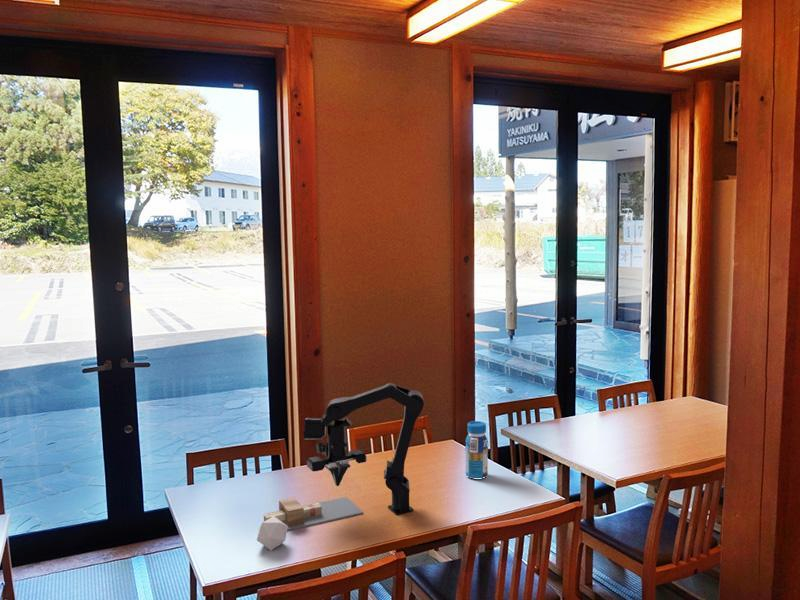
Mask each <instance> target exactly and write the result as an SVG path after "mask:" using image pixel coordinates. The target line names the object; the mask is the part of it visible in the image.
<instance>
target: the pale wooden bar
mask: <svg viewBox="0 0 800 600" xmlns="http://www.w3.org/2000/svg"><path fill="white" fill-rule="evenodd" d="M315 503H316V504H314V503H310V504H311V505H309V504H306V505H307V506H305V505H301V506H302V507H303V508H304V518H309V517H313V516H318V515H322V506H321V505H320V504H319V502H315ZM277 511H278V512H276V511H273V512H274V513H272V512H268V513H269V514H267V513H264V514H263V522H265V521H266V520H268V519H270V518H271V517H273V516H274V517H276V518H277V519H279V520H280V521H281V522H283V523H286V517H285V511H284V510H283V511H279V510H277Z"/></svg>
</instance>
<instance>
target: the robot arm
mask: <svg viewBox="0 0 800 600" xmlns="http://www.w3.org/2000/svg"><path fill="white" fill-rule="evenodd" d="M386 399H387V400H388V399H392V400H393V401H395V402H396V403H398V404H400V405H401V406H404V410H403V412H404V413H403V420H402V424H401V427H400V431H399V436H398V440H397V443H396V447H395V450H394V454H393V457H392V459H391V460H390V461H389V460H386V467H385V469H384V470H383V479H384V480H385V481H384V482H385V485H386V487H387V488H388V489H389V490H390V491H391V504H390V505H388V506H387V509H389V510H390V511H392V513H393V514H395V515H401V514H405V513H410V512H413V511H414V508H413V507H412V506H411V505H410V491H411V489H410V479H408V478H407V477H406V476H405V461H406V458H407V456H408V450H409V447H410V443H411V439H412V435H413V432H414V429H415V424H416V422H417V421H418V419H419V417H420V415H421V413H422V411H423V409H424V406H425V402H424V398H423V395H422V393H421V392H420V390H419V391H418V390H416V389H414V390H411V389H408V388H406V387H403V386H400V385H397V384H395V383H393V382H389V383H386V384H385V385H381V386H378V387H376V388H373V389H371V390H367V391H365V392H363V393H359V394H356V395H353V396H344V397H338V398H333V399H331V400H330V401H329V402H328V405H327V407H326V412H325V413H324V414H322V418H320V417H318V418H315V417H314V418H312V417H306V418H305V419H304V427H303V439H304V440H307V441H308V440H323V438H324V437H326V435H327V440H326V441H325V444H324V442H317V443H316V445H315V449H316V453H317V454H320V453H321V454H322V456H325V458H321V457H320V456H318V455H317V456H312V457H308V458H307V460H306V467H307V468H308V469H309V470H310V471H311V472H319V471H323V470H324V469H326V470H328V471H329V472H330V474H331V476H332V479H333V482H334V484H335V486H336V487H340V484H341V482H342V480H343V478H344V475H346V474H345V473H346V472H347V470H348V468H349V469H350V468H351V464H349V463H350V461H354V460H355V462H356V463H357V464H363V463H367V461H368V460H367V454H366V453H365V452H363V450H361V449H357V448H356V449H352V450H349V452H348V454H346V452H347V451H346V450H347V449H346V448H347V447H348V442H347V441H346V440H347V439H346V427H350V426H351V425H352V421H351V420H349V418H348V416H349V415H350V414H351V413H353V412H355V411H356V410H359V409H361V408H364V407H367V406H370V405H373V404H375V403H378V402H381V401H384V400H386ZM326 432H327V433H326ZM326 457H327V458H326Z"/></svg>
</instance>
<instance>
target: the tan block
mask: <svg viewBox="0 0 800 600" xmlns="http://www.w3.org/2000/svg"><path fill="white" fill-rule="evenodd" d="M302 506H303V505H302V504H300V502H299V501H298V500H297V499H296V498H295V497H290V498H284V499H280V500H278V509H279V510H278V511H283V510H284V511H285V517H286V524H287V526H288V527H290V526H295V525H299V524H304V508H303V507H302Z"/></svg>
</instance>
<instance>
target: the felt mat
mask: <svg viewBox="0 0 800 600" xmlns="http://www.w3.org/2000/svg"><path fill="white" fill-rule="evenodd" d="M316 503H317V502H315V503H313V504H316ZM318 503H319V504H320V505H321V506H322V515H318V516H313V517H309V518H304V524H299V525H295V526H290V527H288V528H287V532H289V531H293V530H297V529H301V528H306V527H311V526H314V525H319V524H324V523H328V522H332V521H337V520H341V519H345V518H350V517H354V516H358V515H359V516H360V515H363V514H364V512H363V510H361V508H359V506H357V505H356V504H355V503H354V502H352V500H350V498H348V497H347V496H344V497H338V498H333V499H329V500H325V501H319V502H318ZM311 504H312V503H310V504H309V503H308V504H306V505H305V504H304V506H307V505H311ZM278 511H279V510H277V511H271V513H274V512H278ZM269 513H270V512H268V513H266V514H269ZM284 524H285V525H287V524H286V523H284Z"/></svg>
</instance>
